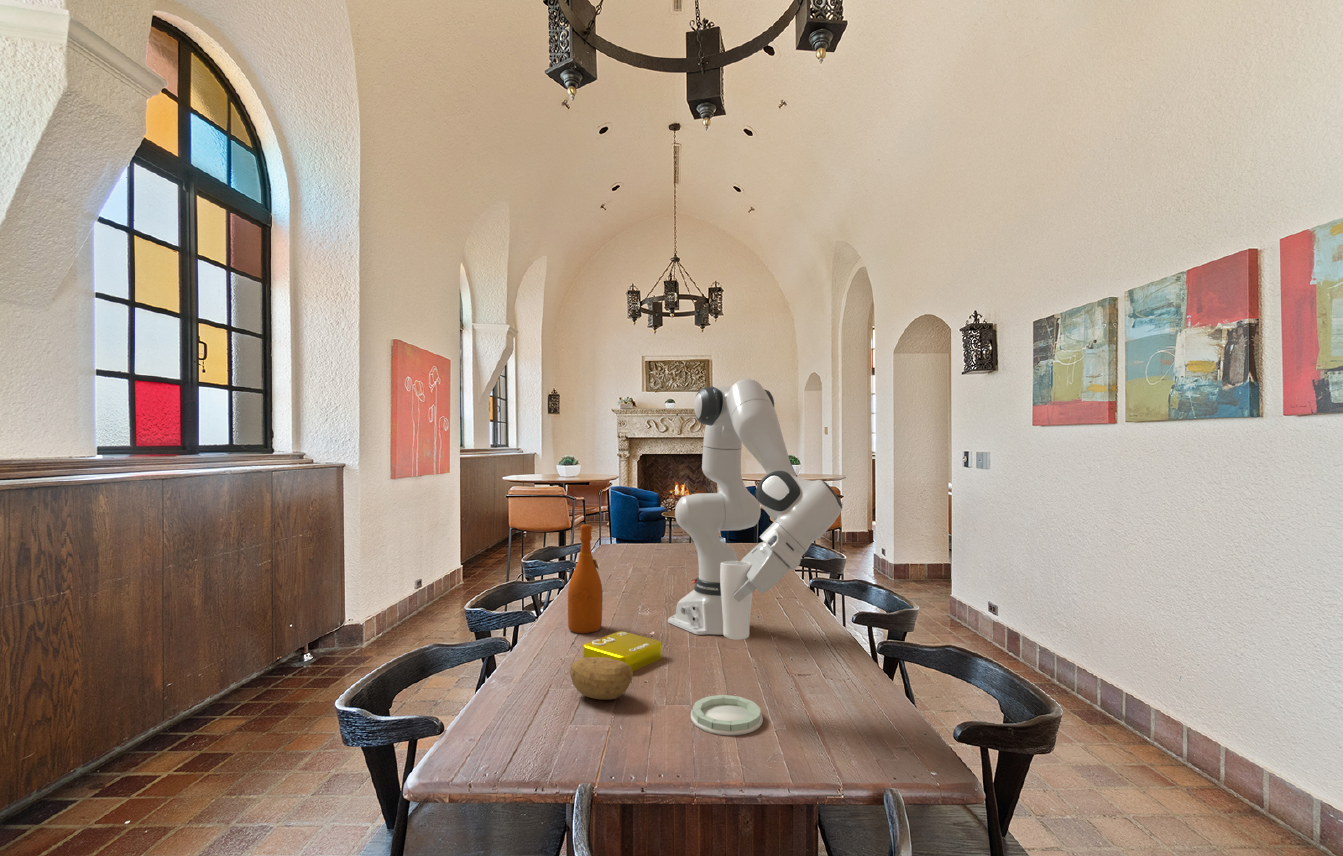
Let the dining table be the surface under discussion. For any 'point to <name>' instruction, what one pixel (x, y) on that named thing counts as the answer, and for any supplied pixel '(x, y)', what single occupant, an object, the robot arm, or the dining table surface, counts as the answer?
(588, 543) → the wine bottle
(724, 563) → the drinking glass
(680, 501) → the robot arm
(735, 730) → the green rimmed plate
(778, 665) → the dining table surface
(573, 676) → the potato
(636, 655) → the element tile
